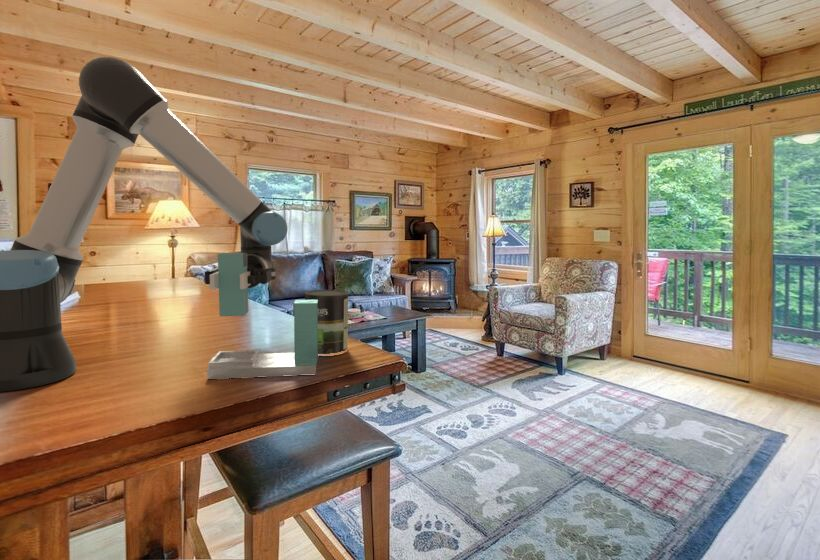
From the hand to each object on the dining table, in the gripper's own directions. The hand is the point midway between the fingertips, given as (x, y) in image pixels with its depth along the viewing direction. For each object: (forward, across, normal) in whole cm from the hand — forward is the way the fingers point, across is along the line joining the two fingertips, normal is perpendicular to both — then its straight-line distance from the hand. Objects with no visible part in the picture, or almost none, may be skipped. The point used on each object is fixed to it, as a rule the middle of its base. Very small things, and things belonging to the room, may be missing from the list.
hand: (227, 281), depth 80 cm
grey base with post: (-5, -6, -19) cm, 20 cm away
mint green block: (-5, 0, -7) cm, 9 cm away
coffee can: (-18, -18, -19) cm, 32 cm away
